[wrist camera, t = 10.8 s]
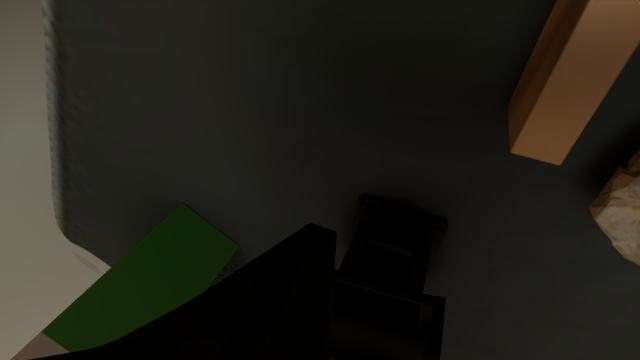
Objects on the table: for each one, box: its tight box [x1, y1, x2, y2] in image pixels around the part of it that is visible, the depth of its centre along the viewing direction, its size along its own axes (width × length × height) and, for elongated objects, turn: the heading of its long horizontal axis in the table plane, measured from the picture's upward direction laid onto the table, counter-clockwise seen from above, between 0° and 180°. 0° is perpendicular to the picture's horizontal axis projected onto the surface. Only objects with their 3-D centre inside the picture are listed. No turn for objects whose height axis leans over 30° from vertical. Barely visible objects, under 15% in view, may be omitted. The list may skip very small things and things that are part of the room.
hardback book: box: [11, 203, 240, 360], centre depth 33 cm, size 18×7×24 cm, turn 146°
